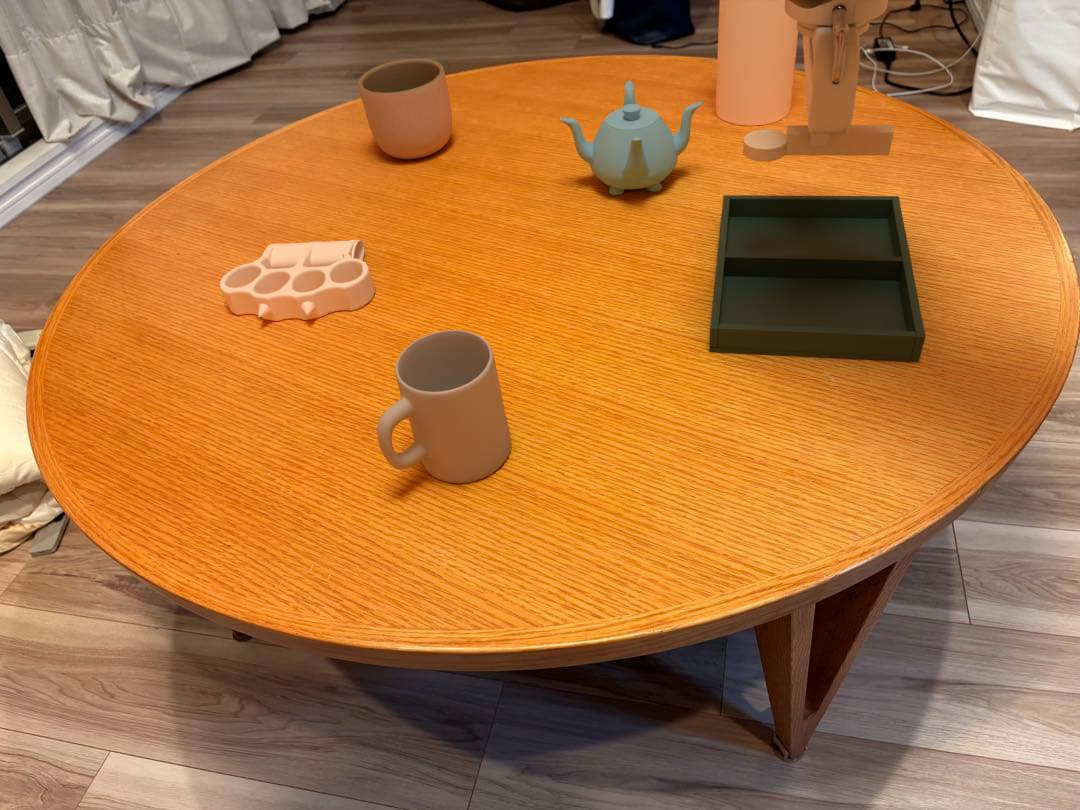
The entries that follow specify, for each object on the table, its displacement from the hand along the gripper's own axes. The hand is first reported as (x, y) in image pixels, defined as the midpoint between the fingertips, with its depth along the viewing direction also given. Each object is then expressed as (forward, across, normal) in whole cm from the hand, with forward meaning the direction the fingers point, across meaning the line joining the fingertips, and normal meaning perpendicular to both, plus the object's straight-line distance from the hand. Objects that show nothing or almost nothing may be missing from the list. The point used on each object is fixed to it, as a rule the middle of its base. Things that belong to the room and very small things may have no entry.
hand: (818, 135), depth 82 cm
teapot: (+15, +18, +21) cm, 31 cm away
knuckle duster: (+15, -9, +58) cm, 60 cm away
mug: (+15, -34, +32) cm, 49 cm away
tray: (+14, -5, -1) cm, 15 cm away
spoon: (+2, 0, 0) cm, 2 cm away
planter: (+15, +28, +55) cm, 64 cm away
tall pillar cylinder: (+15, +38, +6) cm, 42 cm away
